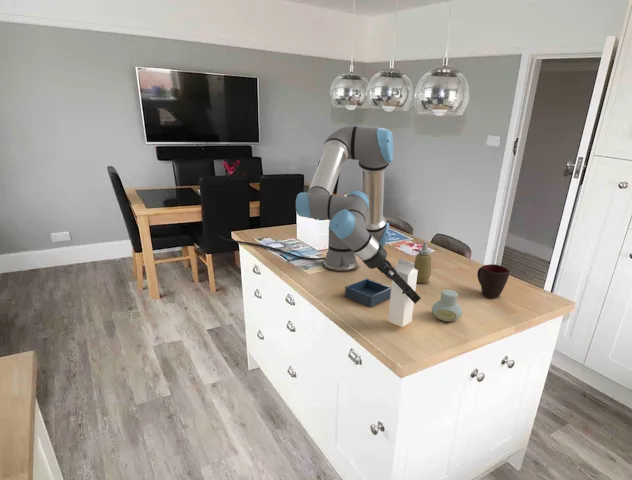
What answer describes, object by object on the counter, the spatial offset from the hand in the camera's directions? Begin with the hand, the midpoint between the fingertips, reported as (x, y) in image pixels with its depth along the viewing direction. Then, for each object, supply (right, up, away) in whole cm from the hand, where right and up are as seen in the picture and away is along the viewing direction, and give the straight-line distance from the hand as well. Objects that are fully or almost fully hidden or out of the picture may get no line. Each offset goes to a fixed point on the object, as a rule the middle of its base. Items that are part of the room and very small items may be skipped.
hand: (411, 294), depth 140 cm
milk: (-4, -9, +3) cm, 10 cm away
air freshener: (+14, -8, +12) cm, 20 cm away
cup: (+35, +1, +36) cm, 50 cm away
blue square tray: (-15, 0, +24) cm, 28 cm away
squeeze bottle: (+8, +6, +43) cm, 44 cm away
